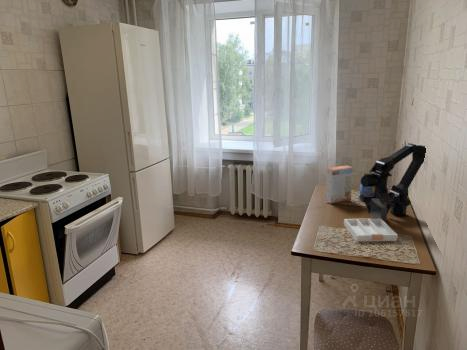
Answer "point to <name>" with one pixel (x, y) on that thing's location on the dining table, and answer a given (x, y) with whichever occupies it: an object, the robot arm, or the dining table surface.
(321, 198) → the dining table surface
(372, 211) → the panel
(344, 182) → the cracker box
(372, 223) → the slot rack
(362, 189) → the ink cartridge box
